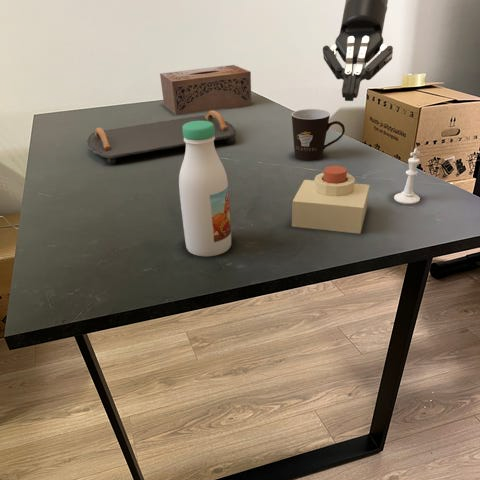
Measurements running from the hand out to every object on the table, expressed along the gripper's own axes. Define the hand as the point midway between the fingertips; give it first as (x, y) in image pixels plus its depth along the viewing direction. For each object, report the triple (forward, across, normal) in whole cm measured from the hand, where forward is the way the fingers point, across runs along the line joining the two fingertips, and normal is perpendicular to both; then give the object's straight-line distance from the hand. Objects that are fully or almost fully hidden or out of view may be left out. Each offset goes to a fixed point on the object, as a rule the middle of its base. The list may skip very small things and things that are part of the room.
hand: (349, 98), depth 84 cm
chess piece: (+13, +13, +12) cm, 22 cm away
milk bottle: (+32, -18, -6) cm, 37 cm away
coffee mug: (-1, -9, +26) cm, 28 cm away
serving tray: (-3, -50, +28) cm, 58 cm away
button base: (+21, 0, +4) cm, 22 cm away
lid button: (+15, 0, +1) cm, 15 cm away
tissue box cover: (-32, -54, +57) cm, 85 cm away
